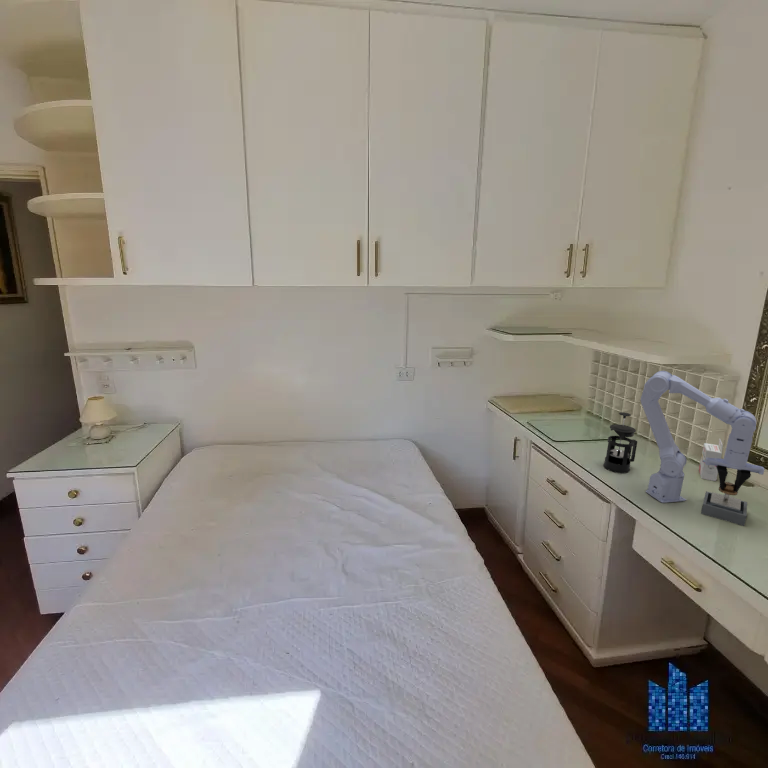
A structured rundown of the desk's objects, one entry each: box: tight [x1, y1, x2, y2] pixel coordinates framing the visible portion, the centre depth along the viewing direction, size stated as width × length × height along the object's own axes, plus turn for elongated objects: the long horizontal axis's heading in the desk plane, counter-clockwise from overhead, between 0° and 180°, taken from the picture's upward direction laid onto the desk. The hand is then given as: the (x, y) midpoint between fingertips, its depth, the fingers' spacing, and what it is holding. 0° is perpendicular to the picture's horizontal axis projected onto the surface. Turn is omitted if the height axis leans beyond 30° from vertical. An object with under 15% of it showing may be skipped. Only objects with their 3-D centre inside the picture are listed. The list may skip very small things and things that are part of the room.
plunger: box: [710, 481, 742, 511], centre depth 140 cm, size 8×8×6 cm
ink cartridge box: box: [698, 438, 724, 482], centre depth 166 cm, size 9×5×15 cm, turn 151°
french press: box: [603, 411, 638, 474], centre depth 170 cm, size 12×9×23 cm
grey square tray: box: [700, 490, 748, 527], centre depth 141 cm, size 11×11×4 cm
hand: (728, 489), depth 140 cm, fingers closed on plunger, 3 cm apart
